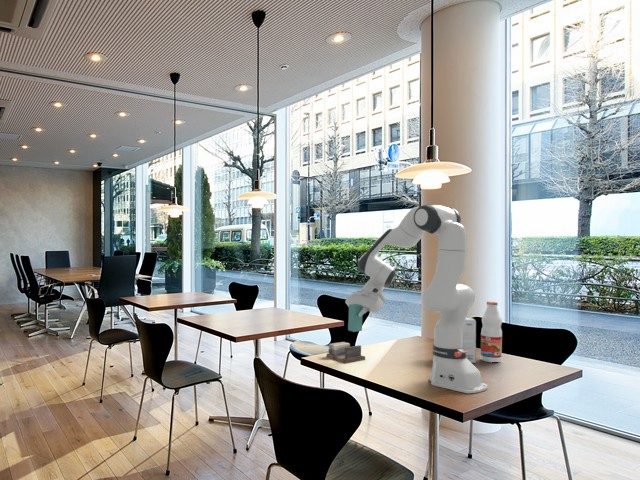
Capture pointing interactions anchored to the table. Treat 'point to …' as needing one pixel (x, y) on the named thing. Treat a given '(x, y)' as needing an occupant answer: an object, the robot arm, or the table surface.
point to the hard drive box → (470, 339)
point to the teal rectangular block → (354, 318)
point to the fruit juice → (491, 334)
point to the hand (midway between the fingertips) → (354, 315)
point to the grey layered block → (345, 352)
